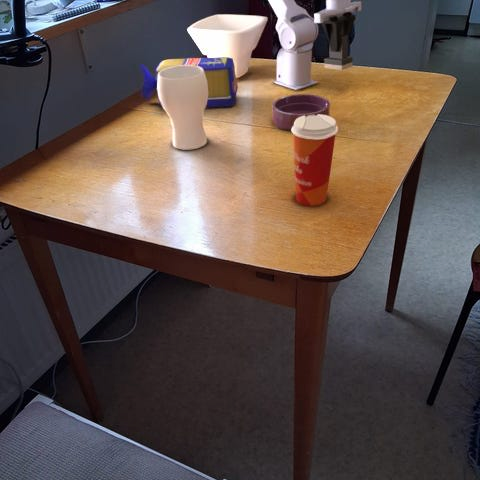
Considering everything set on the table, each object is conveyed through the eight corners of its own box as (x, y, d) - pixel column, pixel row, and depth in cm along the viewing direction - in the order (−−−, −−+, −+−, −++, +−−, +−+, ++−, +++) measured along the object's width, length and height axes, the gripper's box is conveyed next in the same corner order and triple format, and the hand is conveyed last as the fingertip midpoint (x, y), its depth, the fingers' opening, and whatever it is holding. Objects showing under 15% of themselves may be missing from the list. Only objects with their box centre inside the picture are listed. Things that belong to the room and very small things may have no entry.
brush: (324, 68, 125) (324, 36, 120) (334, 64, 127) (334, 33, 122) (341, 70, 121) (342, 37, 117) (352, 66, 123) (353, 34, 118)
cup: (219, 135, 112) (213, 65, 101) (202, 155, 105) (194, 81, 94) (178, 131, 115) (168, 63, 104) (158, 150, 107) (146, 78, 97)
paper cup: (287, 190, 91) (288, 115, 82) (327, 186, 91) (332, 111, 82) (293, 211, 86) (295, 133, 76) (336, 207, 86) (343, 128, 76)
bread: (235, 109, 123) (233, 65, 116) (142, 111, 126) (133, 68, 119) (239, 95, 131) (237, 53, 124) (150, 97, 133) (143, 56, 126)
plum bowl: (260, 121, 116) (260, 104, 114) (301, 106, 122) (301, 90, 119) (299, 137, 108) (299, 119, 106) (340, 120, 114) (341, 103, 111)
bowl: (217, 64, 153) (213, 13, 143) (273, 69, 146) (273, 16, 136) (187, 83, 141) (181, 28, 131) (247, 89, 134) (245, 32, 124)
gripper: (329, -9, 107) (330, 58, 116) (372, -21, 113) (369, 44, 122) (307, -9, 112) (309, 56, 120) (349, -20, 118) (348, 42, 127)
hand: (338, 50), depth 122 cm, fingers closed on brush, 2 cm apart
